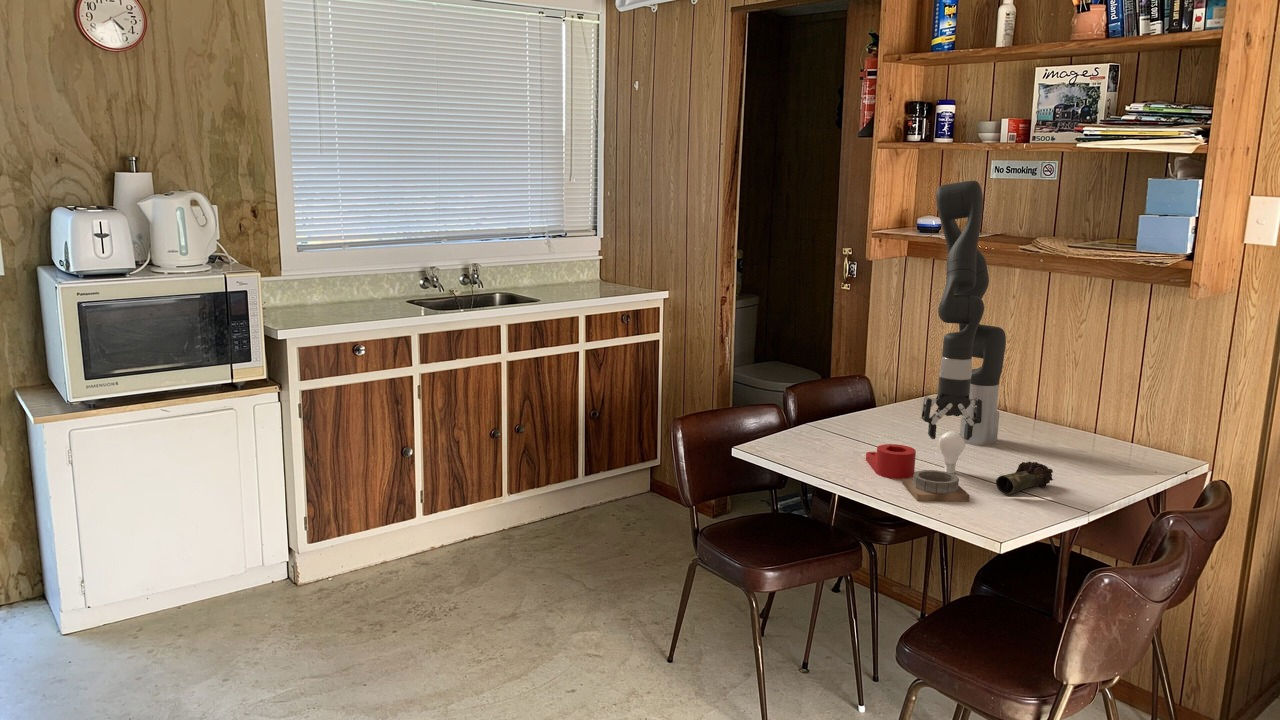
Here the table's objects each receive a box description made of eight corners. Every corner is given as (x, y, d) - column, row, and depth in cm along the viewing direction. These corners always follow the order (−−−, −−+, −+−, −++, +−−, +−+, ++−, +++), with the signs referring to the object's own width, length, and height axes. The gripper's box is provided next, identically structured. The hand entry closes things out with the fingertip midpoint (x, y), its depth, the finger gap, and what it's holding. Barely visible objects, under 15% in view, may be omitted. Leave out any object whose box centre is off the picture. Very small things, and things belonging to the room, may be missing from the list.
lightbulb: (965, 478, 240) (969, 435, 238) (940, 477, 240) (943, 434, 238) (958, 470, 246) (961, 428, 244) (933, 469, 247) (936, 428, 245)
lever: (921, 479, 239) (923, 453, 238) (887, 481, 237) (888, 455, 236) (885, 458, 257) (886, 434, 255) (853, 460, 254) (854, 436, 253)
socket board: (951, 484, 235) (952, 469, 234) (968, 501, 223) (970, 484, 222) (902, 484, 234) (903, 468, 234) (917, 500, 223) (918, 484, 222)
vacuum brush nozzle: (1012, 497, 224) (1015, 474, 223) (987, 488, 230) (990, 466, 229) (1055, 486, 234) (1059, 464, 233) (1030, 479, 240) (1034, 457, 239)
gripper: (978, 373, 243) (972, 435, 246) (922, 371, 243) (916, 434, 245) (989, 379, 235) (983, 443, 238) (931, 377, 235) (925, 442, 238)
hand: (949, 438), depth 242 cm, fingers open, 8 cm apart
